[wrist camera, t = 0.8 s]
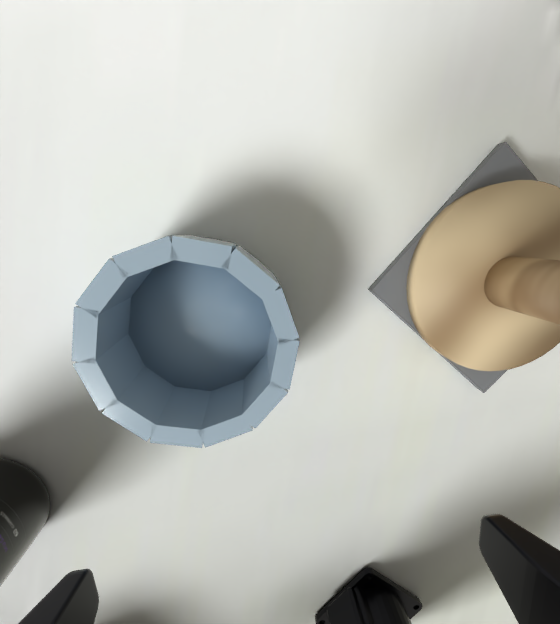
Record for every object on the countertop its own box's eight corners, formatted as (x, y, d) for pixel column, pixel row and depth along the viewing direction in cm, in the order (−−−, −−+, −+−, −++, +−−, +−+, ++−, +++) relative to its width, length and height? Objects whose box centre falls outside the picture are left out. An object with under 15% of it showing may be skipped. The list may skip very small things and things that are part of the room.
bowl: (318, 310, 20) (339, 335, 15) (218, 424, 21) (208, 479, 16) (186, 199, 18) (162, 187, 13) (84, 333, 19) (27, 367, 14)
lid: (611, 268, 20) (742, 280, 15) (483, 394, 22) (560, 448, 16) (505, 139, 18) (615, 98, 13) (369, 290, 19) (414, 313, 14)
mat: (600, 267, 21) (610, 268, 20) (478, 388, 22) (484, 393, 22) (497, 144, 19) (505, 141, 18) (367, 289, 20) (371, 290, 19)
